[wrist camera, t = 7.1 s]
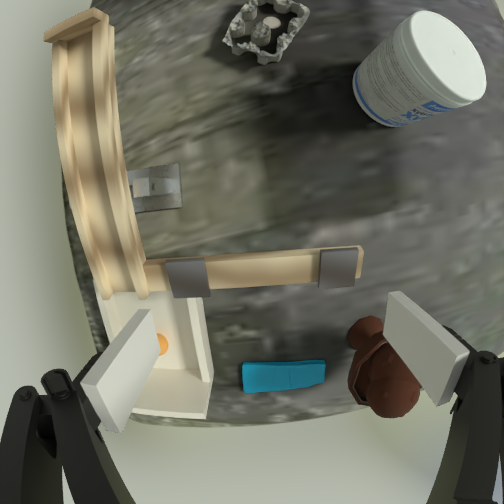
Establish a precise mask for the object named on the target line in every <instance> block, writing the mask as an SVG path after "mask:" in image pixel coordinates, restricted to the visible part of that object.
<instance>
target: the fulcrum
mask: <svg viewBox="0 0 504 504" xmlns="http://www.w3.org/2000/svg"><path fill="white" fill-rule="evenodd" d="M127 177H128V183H129V188H130V193H131V198H132V203H133V208H134V212H143V211H151V210H160V209H169V208H178V207H183V201H182V189H181V176H180V164H179V163H177V164H169V165H163V166H156V167H150V168H144V169H138V170H132V171H127ZM69 205H70V201H69ZM70 209H71V205H70Z"/></svg>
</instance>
